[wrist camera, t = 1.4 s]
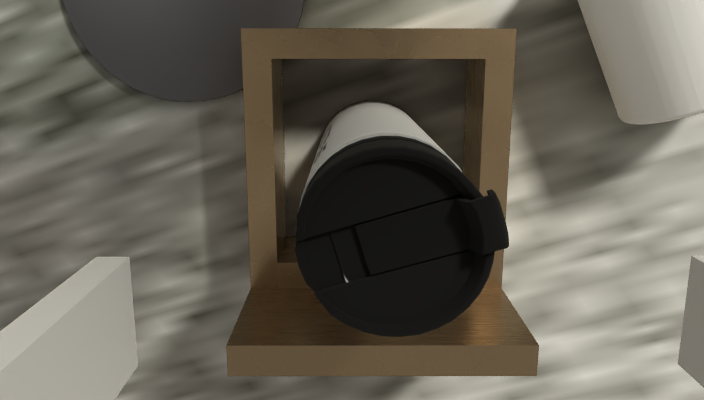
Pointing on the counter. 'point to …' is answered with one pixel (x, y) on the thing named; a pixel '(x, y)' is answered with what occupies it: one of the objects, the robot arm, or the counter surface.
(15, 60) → the counter surface
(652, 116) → the mug
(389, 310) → the travel mug
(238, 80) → the mat
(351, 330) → the brown wooden open box
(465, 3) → the counter surface
